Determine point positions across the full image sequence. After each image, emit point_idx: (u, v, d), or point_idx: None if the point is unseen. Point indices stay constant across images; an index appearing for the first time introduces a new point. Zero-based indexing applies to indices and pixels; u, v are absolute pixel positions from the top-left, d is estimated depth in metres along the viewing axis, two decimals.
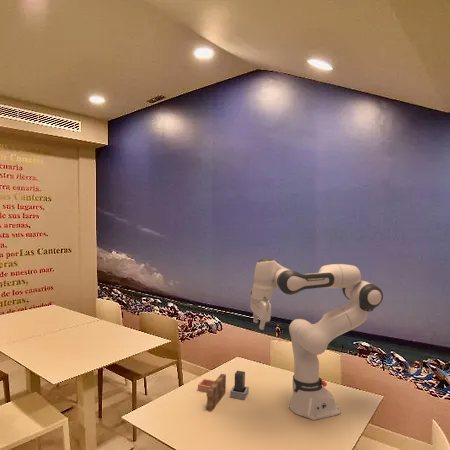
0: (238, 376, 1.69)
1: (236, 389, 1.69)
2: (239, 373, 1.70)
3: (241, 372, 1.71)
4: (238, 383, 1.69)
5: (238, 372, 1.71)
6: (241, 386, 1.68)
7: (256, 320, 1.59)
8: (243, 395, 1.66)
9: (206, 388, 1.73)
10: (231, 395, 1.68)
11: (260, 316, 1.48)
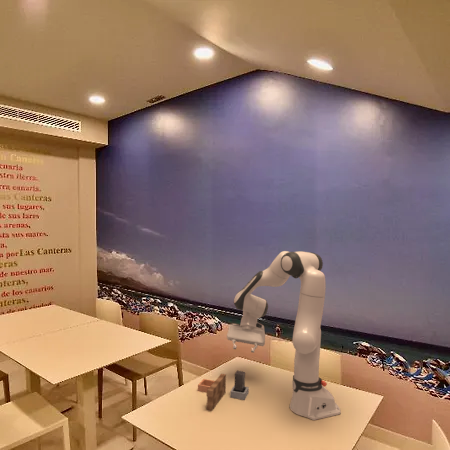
0: (238, 376, 1.69)
1: (236, 389, 1.69)
2: (239, 373, 1.70)
3: (241, 372, 1.71)
4: (238, 383, 1.69)
5: (238, 372, 1.71)
6: (241, 386, 1.68)
7: None
8: (243, 395, 1.66)
9: (206, 388, 1.73)
10: (231, 395, 1.68)
11: None
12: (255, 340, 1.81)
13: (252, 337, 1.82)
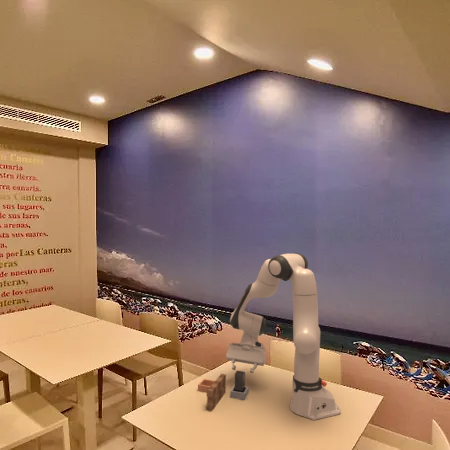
0: (238, 376, 1.69)
1: (236, 389, 1.69)
2: (239, 373, 1.70)
3: (241, 372, 1.71)
4: (238, 383, 1.69)
5: (238, 372, 1.71)
6: (241, 386, 1.68)
7: None
8: (243, 395, 1.66)
9: (206, 388, 1.73)
10: (231, 395, 1.68)
11: None
12: (254, 360, 1.76)
13: (252, 357, 1.77)
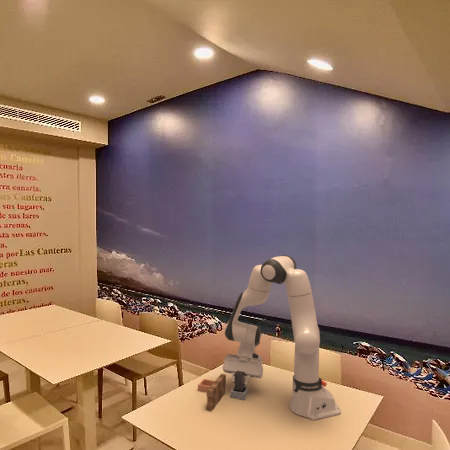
0: (238, 376, 1.69)
1: (236, 389, 1.69)
2: (239, 373, 1.70)
3: (241, 372, 1.71)
4: (238, 383, 1.69)
5: (238, 372, 1.71)
6: (241, 386, 1.68)
7: None
8: (243, 395, 1.66)
9: (206, 388, 1.73)
10: (231, 395, 1.68)
11: None
12: (251, 372, 1.71)
13: (249, 369, 1.72)
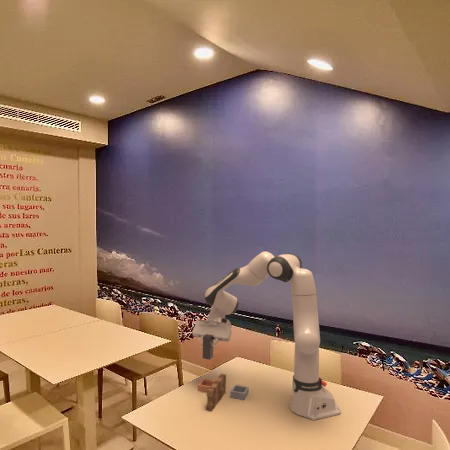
0: (207, 338, 1.74)
1: (204, 351, 1.75)
2: (207, 336, 1.75)
3: (209, 335, 1.77)
4: (206, 345, 1.74)
5: (207, 335, 1.77)
6: (209, 348, 1.74)
7: None
8: (243, 395, 1.66)
9: (206, 388, 1.73)
10: (231, 395, 1.68)
11: None
12: (219, 335, 1.76)
13: (217, 333, 1.78)
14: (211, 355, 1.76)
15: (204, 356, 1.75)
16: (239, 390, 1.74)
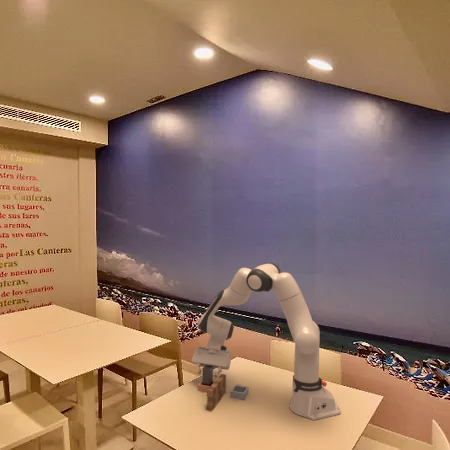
0: (206, 370, 1.74)
1: (204, 383, 1.75)
2: (207, 367, 1.76)
3: (209, 366, 1.77)
4: (206, 377, 1.75)
5: (206, 366, 1.77)
6: (208, 380, 1.74)
7: None
8: (243, 395, 1.66)
9: (206, 388, 1.73)
10: (231, 395, 1.68)
11: None
12: (219, 364, 1.76)
13: (216, 361, 1.78)
14: None
15: None
16: (239, 390, 1.74)
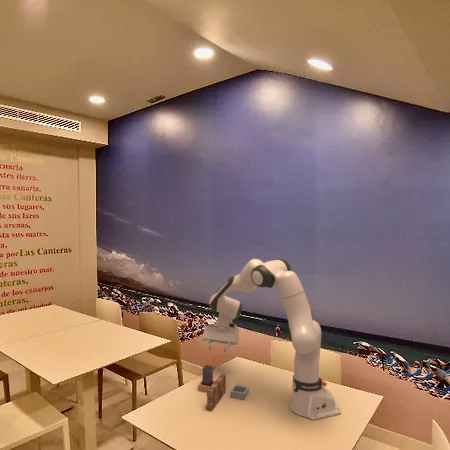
0: (206, 370, 1.74)
1: (204, 383, 1.75)
2: (207, 367, 1.76)
3: (209, 366, 1.77)
4: (206, 377, 1.75)
5: (206, 366, 1.77)
6: (208, 380, 1.74)
7: None
8: (243, 395, 1.66)
9: (206, 388, 1.73)
10: (231, 395, 1.68)
11: None
12: (228, 340, 1.89)
13: (226, 337, 1.90)
14: None
15: None
16: (239, 390, 1.74)
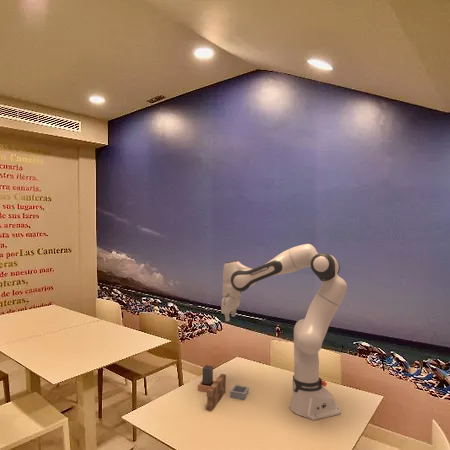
0: (206, 370, 1.74)
1: (204, 383, 1.75)
2: (207, 367, 1.76)
3: (209, 366, 1.77)
4: (206, 377, 1.75)
5: (206, 366, 1.77)
6: (208, 380, 1.74)
7: (233, 314, 1.85)
8: (243, 395, 1.66)
9: (206, 388, 1.73)
10: (231, 395, 1.68)
11: None
12: (237, 305, 1.86)
13: (236, 304, 1.85)
14: None
15: None
16: (239, 390, 1.74)
